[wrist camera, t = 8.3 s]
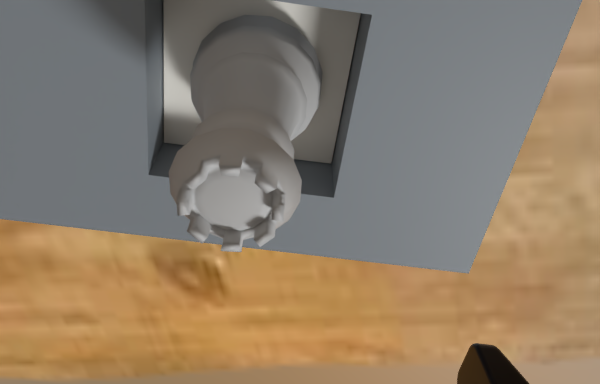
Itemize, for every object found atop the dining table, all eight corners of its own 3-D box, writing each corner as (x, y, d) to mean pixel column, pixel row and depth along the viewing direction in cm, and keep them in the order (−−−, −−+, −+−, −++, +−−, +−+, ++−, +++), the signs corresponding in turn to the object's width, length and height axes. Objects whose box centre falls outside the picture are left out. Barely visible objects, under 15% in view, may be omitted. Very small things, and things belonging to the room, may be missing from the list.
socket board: (570, -74, 17) (605, -58, 15) (454, 232, 24) (468, 273, 22) (-41, -170, 16) (-94, -167, 14) (21, 180, 23) (-8, 217, 21)
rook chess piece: (185, 114, 20) (125, 261, 14) (205, -7, 18) (143, 101, 11) (303, 143, 21) (299, 296, 14) (338, 29, 19) (352, 152, 12)
